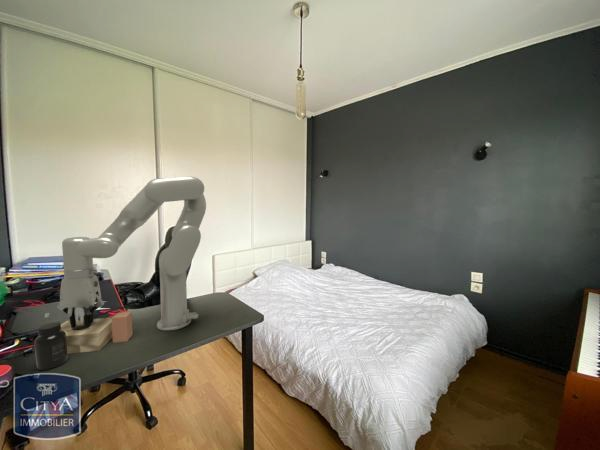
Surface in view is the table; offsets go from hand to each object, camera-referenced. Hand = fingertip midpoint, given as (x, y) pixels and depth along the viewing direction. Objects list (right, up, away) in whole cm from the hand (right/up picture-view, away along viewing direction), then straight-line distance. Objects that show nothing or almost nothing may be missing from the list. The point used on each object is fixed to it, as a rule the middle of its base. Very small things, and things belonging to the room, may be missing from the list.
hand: (82, 324), depth 87 cm
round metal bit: (0, -2, 0) cm, 2 cm away
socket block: (0, -7, 0) cm, 7 cm away
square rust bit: (+11, -7, +4) cm, 14 cm away
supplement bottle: (0, -8, -11) cm, 13 cm away
